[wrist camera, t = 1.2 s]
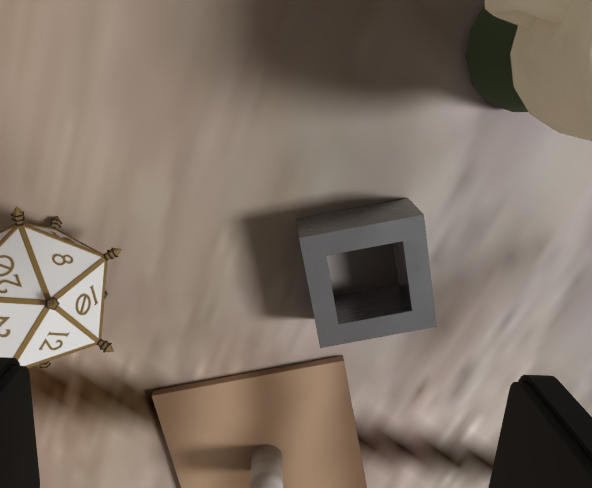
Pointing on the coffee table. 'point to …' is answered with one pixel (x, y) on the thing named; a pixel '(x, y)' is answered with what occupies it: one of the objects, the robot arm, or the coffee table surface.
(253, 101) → the coffee table surface
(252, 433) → the tan piece
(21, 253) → the game die
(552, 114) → the character mug
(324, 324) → the link
